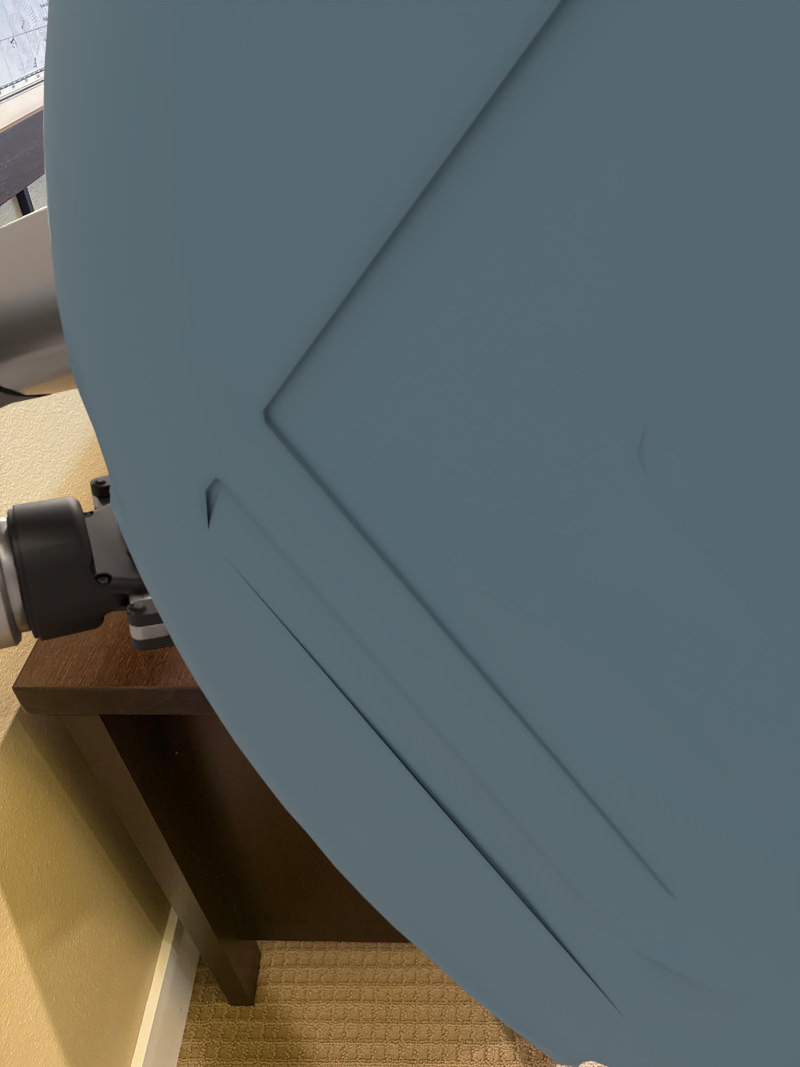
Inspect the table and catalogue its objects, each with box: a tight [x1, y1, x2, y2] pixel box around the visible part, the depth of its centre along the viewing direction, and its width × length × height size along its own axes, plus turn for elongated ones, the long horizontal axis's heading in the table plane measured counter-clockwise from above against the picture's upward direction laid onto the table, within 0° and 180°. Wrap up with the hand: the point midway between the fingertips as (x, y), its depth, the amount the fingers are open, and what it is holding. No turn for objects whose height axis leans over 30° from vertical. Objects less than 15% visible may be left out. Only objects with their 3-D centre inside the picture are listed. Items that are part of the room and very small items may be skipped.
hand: (375, 506), depth 50 cm, fingers open, 13 cm apart
